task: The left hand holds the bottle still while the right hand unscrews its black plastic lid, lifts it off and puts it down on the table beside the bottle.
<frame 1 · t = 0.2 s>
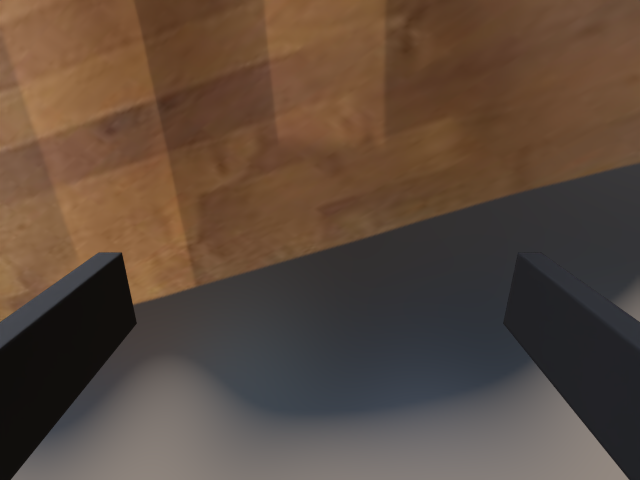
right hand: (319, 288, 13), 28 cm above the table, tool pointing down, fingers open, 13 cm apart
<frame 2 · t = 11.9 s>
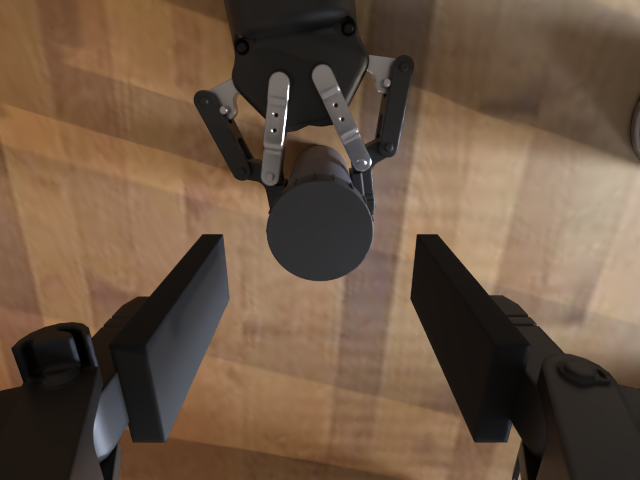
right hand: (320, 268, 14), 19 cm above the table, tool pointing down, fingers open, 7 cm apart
left hand: (325, 225, 27), fingers closed on bottle, 4 cm apart
lid: (320, 231, 18), point 15 cm above the table, screwed on, not yet turned
bottle: (320, 171, 32), on the table, touching left hand
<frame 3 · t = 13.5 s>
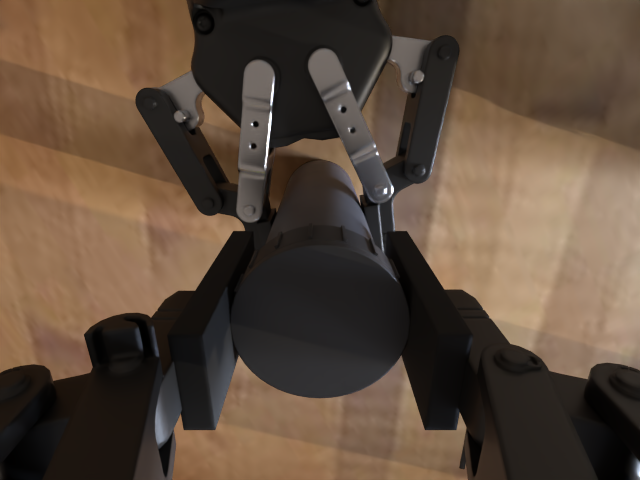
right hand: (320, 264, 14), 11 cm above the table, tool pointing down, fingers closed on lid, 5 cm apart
left hand: (327, 272, 20), fingers closed on bottle, 4 cm apart
lid: (320, 321, 11), point 15 cm above the table, screwed on, not yet turned, touching right hand
bottle: (320, 193, 25), on the table, touching left hand
when the right hand's fingers open (12 cm above the table, at t = 15.0 s): lid stays where it is, point 15 cm above the table.
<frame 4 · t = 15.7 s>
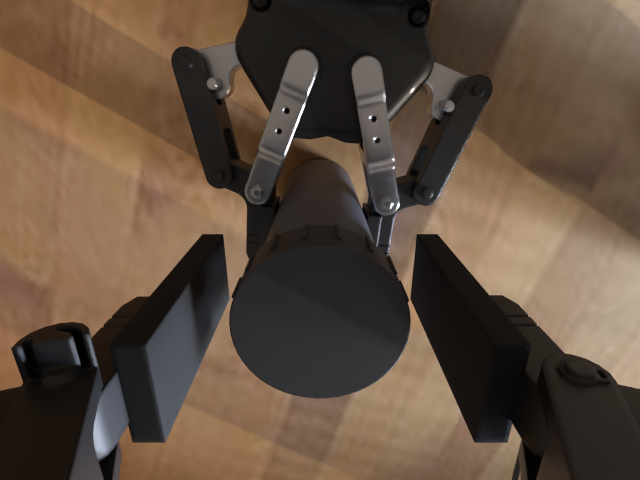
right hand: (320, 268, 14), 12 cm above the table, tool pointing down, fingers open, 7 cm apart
left hand: (315, 269, 20), fingers closed on bottle, 4 cm apart
lid: (319, 321, 11), point 15 cm above the table, turned 102° so far, risen 0.4 cm, still on its thread
bottle: (319, 192, 25), on the table, touching left hand
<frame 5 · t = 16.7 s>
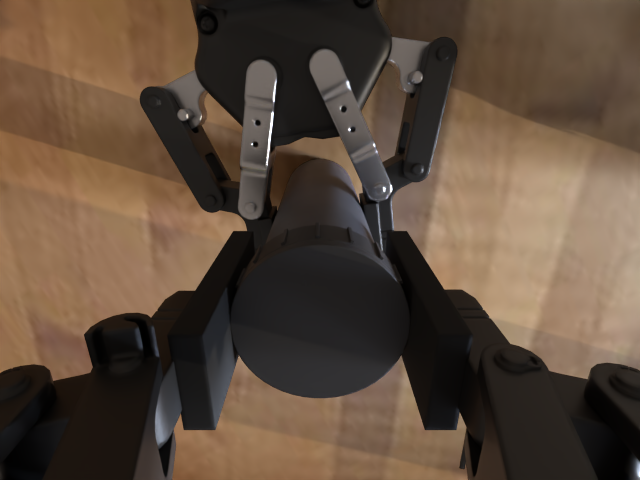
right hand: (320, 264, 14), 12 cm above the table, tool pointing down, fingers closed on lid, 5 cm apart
left hand: (326, 269, 20), fingers closed on bottle, 4 cm apart
lid: (320, 321, 11), point 15 cm above the table, turned 102° so far, risen 0.4 cm, still on its thread, touching right hand
bottle: (320, 192, 25), on the table, touching left hand
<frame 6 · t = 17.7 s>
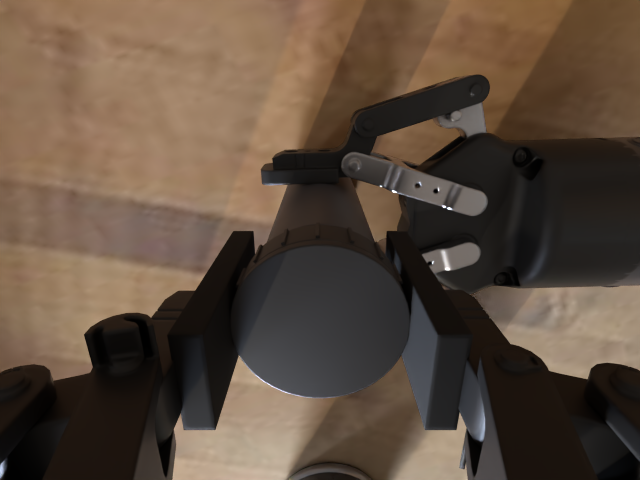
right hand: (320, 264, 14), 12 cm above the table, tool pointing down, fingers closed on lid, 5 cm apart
left hand: (269, 222, 19), fingers closed on bottle, 4 cm apart
lid: (320, 321, 11), point 16 cm above the table, off its thread, touching right hand
bottle: (320, 191, 25), on the table, touching left hand
when the right hand's fingers open (0 cm above the table, at t = 22.6 s): lid stays where it is, point 1 cm above the table.
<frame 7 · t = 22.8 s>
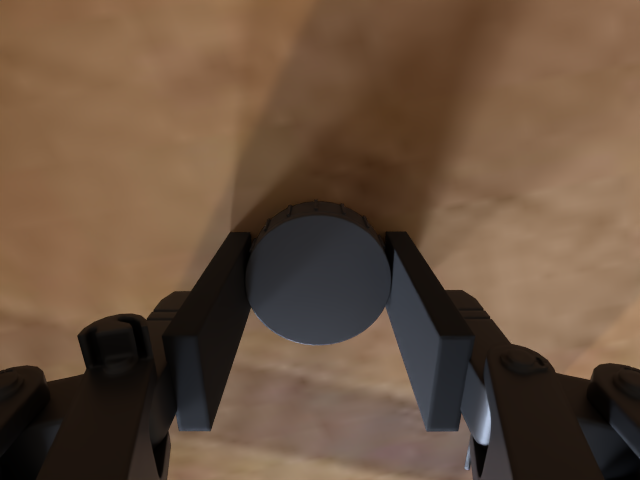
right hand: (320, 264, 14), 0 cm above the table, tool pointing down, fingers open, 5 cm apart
lid: (318, 280, 13), point 1 cm above the table, off its thread
when the left hand's fingers open (7 cm above the table, at t = 23.7 s): bottle stays where it is, on the table.
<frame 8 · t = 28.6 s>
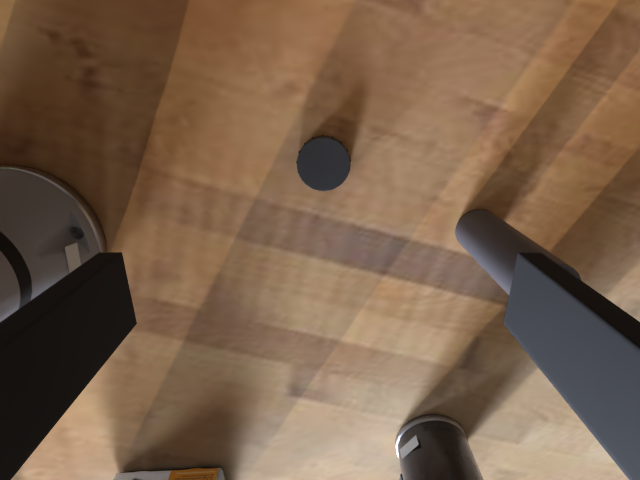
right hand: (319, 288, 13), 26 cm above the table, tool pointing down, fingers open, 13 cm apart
lid: (323, 164, 36), point 1 cm above the table, off its thread
bottle: (476, 229, 39), on the table
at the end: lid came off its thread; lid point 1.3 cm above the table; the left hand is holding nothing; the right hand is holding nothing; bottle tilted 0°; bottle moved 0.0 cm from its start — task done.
